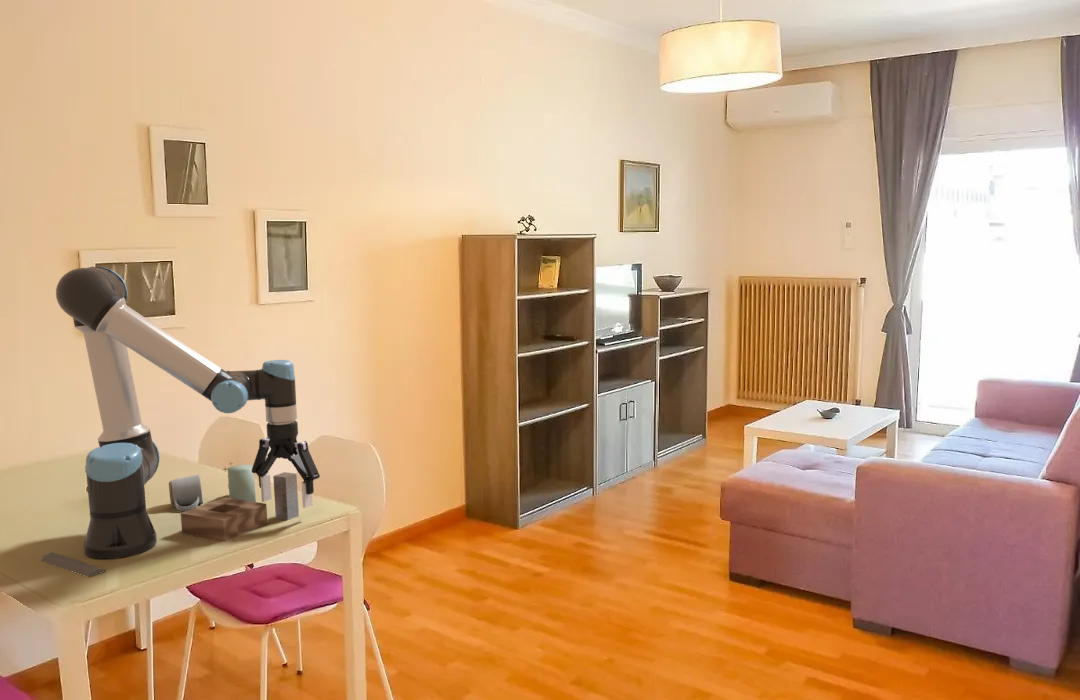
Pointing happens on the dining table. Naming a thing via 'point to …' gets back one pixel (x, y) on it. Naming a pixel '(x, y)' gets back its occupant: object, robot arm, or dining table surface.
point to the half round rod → (71, 564)
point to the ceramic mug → (186, 492)
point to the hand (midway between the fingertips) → (287, 503)
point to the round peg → (241, 483)
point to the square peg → (286, 495)
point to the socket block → (224, 518)
